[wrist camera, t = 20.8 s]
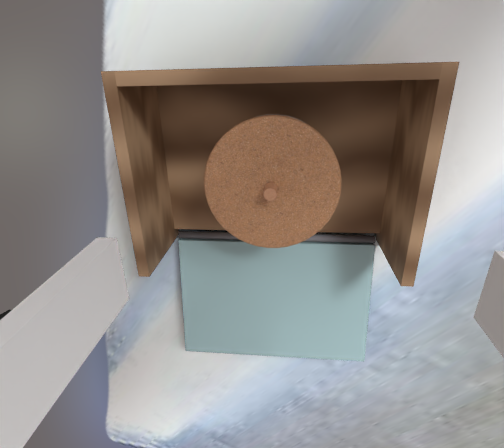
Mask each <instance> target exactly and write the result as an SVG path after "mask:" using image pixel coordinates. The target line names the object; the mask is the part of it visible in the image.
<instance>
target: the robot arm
mask: <svg viewBox="0 0 504 448" xmlns="http://www.w3.org/2000/svg"><path fill="white" fill-rule="evenodd" d="M128 300H129V294H128V289H127V285H126V280H125V275H124V270H123V265H122V261H121V256H120V251H119V246H118V242H117V238H102V237H97V238H96V239H95V240H94V241H92V242H91V243H90V244H89V245H88V246H87V247H85V248H84V249H83V250H82V251H81V252H80V253H78V254H77V255H76V256H75V257H74V258H72V259H71V260H70V261H69V262H68V263H67V264H65V265H64V266H63V267H62V268H61V269H60V270H58V271H57V272H56V273H55V274H54V275H53V276H52V277H50V278H49V279H48V280H47V281H46V282H44V283H43V284H42V285H41V286H40V287H38V288H37V289H36V290H35V291H34V292H33V293H31V294H30V295H29V296H28V297H27V298H26V299H25V300H23V301H22V302H21V303H20V304H19V305H18V306H16V307H15V308H14V309H13V310H8V311H6V312H4V313H3V314H0V448H23V446H24V445H25V443H26V442H27V441H28V439H29V438H30V437H31V435H32V434H33V433H34V431H35V429H36V428H37V427H38V426H39V424H40V423H41V421H42V420H43V418H44V417H45V416H46V414H47V413H48V411H49V410H50V409H51V407H52V406H53V404H54V403H55V402H56V400H57V399H58V397H59V396H60V395H61V393H62V392H63V391H64V389H65V388H66V386H67V385H68V384H69V382H70V381H71V379H72V378H73V377H74V375H75V374H76V372H77V371H78V370H79V368H80V367H81V365H82V364H83V363H84V361H85V360H86V359H87V357H88V356H89V354H90V353H91V351H92V350H93V349H94V347H95V346H96V345H97V343H98V342H99V340H100V338H102V336H103V335H104V333H105V332H106V331H107V329H108V328H109V326H110V325H111V324H112V322H113V321H114V319H115V318H116V317H117V315H118V314H119V312H120V311H121V310H122V308H123V307H124V305H125V304H126V303H127V301H128ZM474 318H475V320H476V321H477V323H478V324H479V325H480V327H481V328H482V329H483V331H484V332H485V333H486V335H487V336H488V337H489V339H490V340H491V342H492V343H493V344H494V346H495V347H496V348H497V350H498V351H499V352H500V354H501V355H502V357H503V358H504V251H495V252H494V255H493V258H492V261H491V264H490V267H489V271H488V274H487V277H486V280H485V283H484V286H483V289H482V292H481V296H480V299H479V302H478V305H477V308H476V311H475V314H474Z"/></svg>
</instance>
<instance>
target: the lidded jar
mask: <svg viewBox="0 0 504 448" xmlns="http://www.w3.org/2000/svg"><path fill="white" fill-rule="evenodd" d="M341 184H342V180H341V170H340V167H339V163H338V160H337V158H336V155H335V153H334V151H333V149H332V148H331V146H330V145H329V143H328V142H327V140H326V139H325V138H324V137H323V136H322V135H321V134H320V133H319V132H318V131H317V130H315V129H314V128H313V127H311V126H310V125H309V124H307V123H306V122H304V121H302V120H300V119H298V118H295V117H291V116H288V115H282V114H265V115H260V116H256V117H253V118H250V119H248V120H245V121H243V122H241V123H239V124H237V125H236V126H234V127H233V128H231V129H230V130H229V131H228V132H226V133H225V134H224V135H223V136H222V137H221V139H220V140H219V141H218V142H217V143H216V145H215V146H214V148H213V150H212V151H211V153H210V155H209V158H208V160H207V163H206V168H205V172H204V190H205V195H206V199H207V203H208V205H209V207H210V210H211V212H212V213H213V215H214V217H215V218H216V220H217V221H218V222H219V223H220V224H221V226H222V227H223V228H224V229H225V230H227V231H228V232H229V233H230V234H231V235H233V236H234V237H236V238H238V239H239V240H241V241H244V242H246V243H248V244H251V245H255V246H258V247H265V248H281V247H288V246H292V245H295V244H298V243H301V242H303V241H305V240H307V239H309V238H310V237H312V236H313V235H315V234H316V233H317V232H318V231H320V230H321V229H322V228H323V227H324V226H325V225H326V223H327V222H328V221H329V220H330V218H331V217H332V215H333V213H334V212H335V209H336V207H337V205H338V202H339V198H340V194H341Z"/></svg>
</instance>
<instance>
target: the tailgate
mask: <svg viewBox="0 0 504 448" xmlns="http://www.w3.org/2000/svg"><path fill="white" fill-rule="evenodd" d="M178 236H179V238H180V239H179V240H178V241H179V256H180V271H181V287H182V302H183V317H184V333H185V348H186V351H197V352H213V353H230V354H247V355H263V356H280V357H297V358H314V359H330V360H347V361H364V359H365V349H366V338H367V327H368V316H369V305H370V294H371V283H372V273H373V262H374V251H375V245H374V244H373V243H375V236H370V235H327V234H315V235H313V236H312V237H310V238H309V239H307V240H305V241H303V242H301V243H298V244H295V245H292V246H288V247H281V248H265V247H258V246H255V245H251V244H248V243H246V242H244V241H241V240H239V239H238V238H236V237H234V236H233V235H231V234H230V233H229V232H196V231H179V234H178Z"/></svg>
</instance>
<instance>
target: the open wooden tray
mask: <svg viewBox="0 0 504 448" xmlns="http://www.w3.org/2000/svg"><path fill="white" fill-rule="evenodd" d="M458 66H459V62H433V63H396V64H359V65H322V66H285V67H248V68H211V69H174V70H137V71H101V75H102V81H103V86H104V91H105V97H106V102H107V108H108V113H109V118H110V124H111V129H112V134H113V140H114V145H115V151H116V156H117V161H118V167H119V172H120V178H121V183H122V188H123V194H124V199H125V205H126V210H127V215H128V221H129V226H130V231H131V237H132V242H133V248H134V253H135V258H136V264H137V269H138V275H139V276H146V277H149V276H150V275H151V274H152V272H153V271H154V269H155V268H156V266H157V265H158V263H159V262H160V261H161V259H162V258H163V256H164V255H165V253H166V252H167V251H168V249H169V248H170V246H171V245H172V243H173V242H174V240H175V239H176V238H177V236H178V234H179V230H178V229H201V230H225V229H224V228H223V227H222V226H221V224H220V223H219V222H218V221H217V220H216V218H215V217H214V215H213V213H212V212H211V210H210V207H209V205H208V203H207V199H206V195H205V190H204V172H205V168H206V163H207V160H208V158H209V155H210V153H211V151H212V150H213V148H214V146H215V145H216V143H217V142H218V141H219V140H220V139H221V137H222V136H223V135H224V134H225V133H226V132H228V131H229V130H230V129H231V128H233V127H234V126H236V125H237V124H239V123H241V122H243V121H245V120H248V119H250V118H253V117H256V116H260V115H265V114H282V115H288V116H291V117H295V118H298V119H300V120H302V121H304V122H306V123H307V124H309V125H310V126H311V127H313V128H314V129H315V130H317V131H318V132H319V133H320V134H321V135H322V136H323V137H324V138H325V139H326V140H327V142H328V143H329V145H330V146H331V148H332V149H333V151H334V153H335V155H336V158H337V160H338V163H339V167H340V170H341V180H342V184H341V194H340V198H339V202H338V205H337V207H336V209H335V212H334V213H333V215H332V217H331V218H330V220H329V221H328V222H327V223H326V225H325V226H324V227H323V228H322V229H321V230H320V231H318V232H336V233H377V234H376V240H377V242H378V244H379V246H380V247H381V249H382V251H383V253H384V255H385V257H386V259H387V261H388V263H389V264H390V266H391V268H392V270H393V272H394V274H395V276H396V278H397V279H398V281H399V283H400V285H401V286H414V281H415V276H416V271H417V266H418V261H419V257H420V252H421V247H422V242H423V237H424V232H425V227H426V222H427V217H428V212H429V208H430V203H431V198H432V193H433V188H434V183H435V178H436V173H437V168H438V163H439V159H440V154H441V149H442V144H443V139H444V134H445V129H446V124H447V119H448V115H449V110H450V105H451V100H452V95H453V90H454V85H455V80H456V75H457V70H458Z"/></svg>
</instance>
